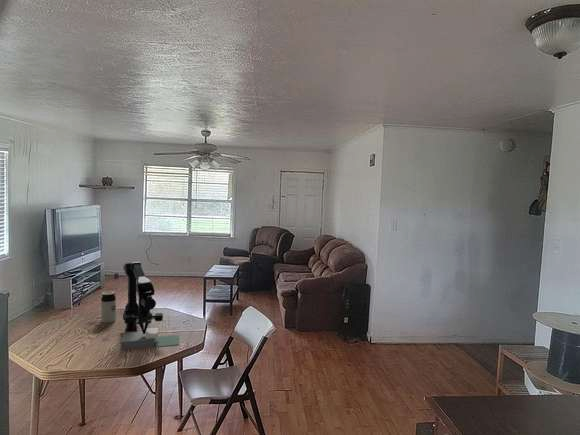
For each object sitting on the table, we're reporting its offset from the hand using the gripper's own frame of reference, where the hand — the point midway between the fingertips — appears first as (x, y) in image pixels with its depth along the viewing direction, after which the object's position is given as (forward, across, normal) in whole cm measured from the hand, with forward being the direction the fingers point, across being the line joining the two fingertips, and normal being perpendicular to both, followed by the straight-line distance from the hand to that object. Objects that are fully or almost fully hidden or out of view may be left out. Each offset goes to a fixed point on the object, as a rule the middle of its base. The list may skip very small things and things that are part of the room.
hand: (144, 333), depth 202 cm
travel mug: (+5, -24, +41) cm, 48 cm away
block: (+1, +4, 0) cm, 4 cm away
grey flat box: (+5, -3, 0) cm, 6 cm away
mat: (+5, +12, 0) cm, 13 cm away
